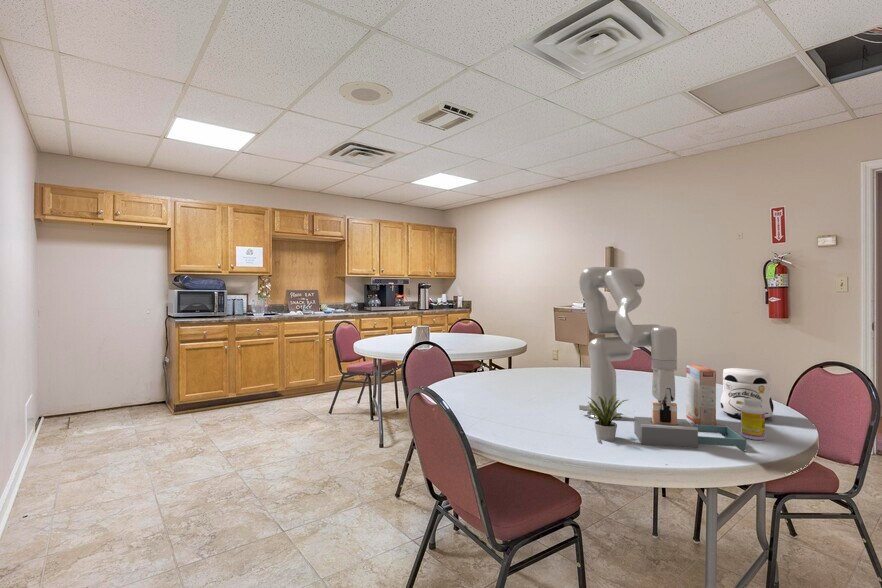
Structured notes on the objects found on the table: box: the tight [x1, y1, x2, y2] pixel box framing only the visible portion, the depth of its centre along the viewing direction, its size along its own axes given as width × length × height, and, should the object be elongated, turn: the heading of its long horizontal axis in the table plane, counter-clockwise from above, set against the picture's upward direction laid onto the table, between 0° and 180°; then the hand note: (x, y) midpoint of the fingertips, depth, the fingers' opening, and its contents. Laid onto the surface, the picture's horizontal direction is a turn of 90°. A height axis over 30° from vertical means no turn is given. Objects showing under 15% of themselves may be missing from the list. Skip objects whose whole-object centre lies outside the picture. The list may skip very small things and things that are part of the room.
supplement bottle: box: [740, 398, 766, 441], centre depth 150 cm, size 7×7×13 cm
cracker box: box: [685, 364, 717, 426], centre depth 168 cm, size 14×6×21 cm, turn 168°
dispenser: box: [633, 416, 699, 449], centre depth 143 cm, size 16×12×8 cm
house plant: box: [586, 393, 628, 445], centre depth 146 cm, size 14×14×16 cm
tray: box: [690, 423, 747, 451], centre depth 145 cm, size 14×14×4 cm
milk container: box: [719, 367, 775, 420], centre depth 175 cm, size 17×17×18 cm
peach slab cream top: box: [651, 401, 678, 425], centre depth 143 cm, size 7×2×12 cm, turn 76°
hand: (664, 420), depth 143 cm, fingers closed on peach slab cream top, 1 cm apart
